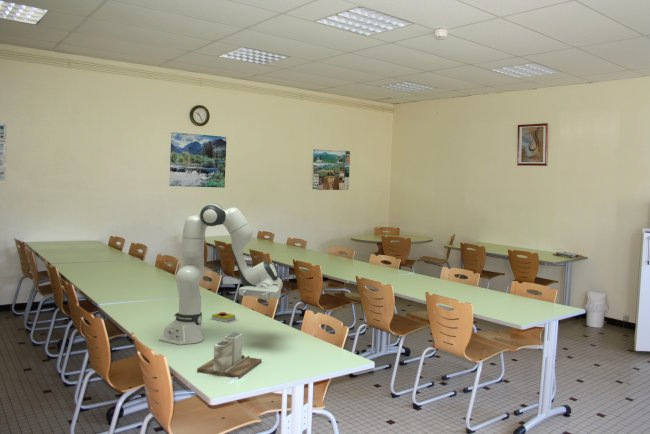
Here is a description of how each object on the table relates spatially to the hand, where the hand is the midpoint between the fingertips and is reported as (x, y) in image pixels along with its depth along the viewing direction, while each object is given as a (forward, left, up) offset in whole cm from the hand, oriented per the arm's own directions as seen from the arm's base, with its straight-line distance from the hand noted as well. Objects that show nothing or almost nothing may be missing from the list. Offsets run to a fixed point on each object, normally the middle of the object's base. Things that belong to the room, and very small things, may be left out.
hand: (252, 295), depth 255 cm
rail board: (0, -21, -28) cm, 35 cm away
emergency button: (-42, +51, -29) cm, 72 cm away
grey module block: (0, -19, -26) cm, 32 cm away
